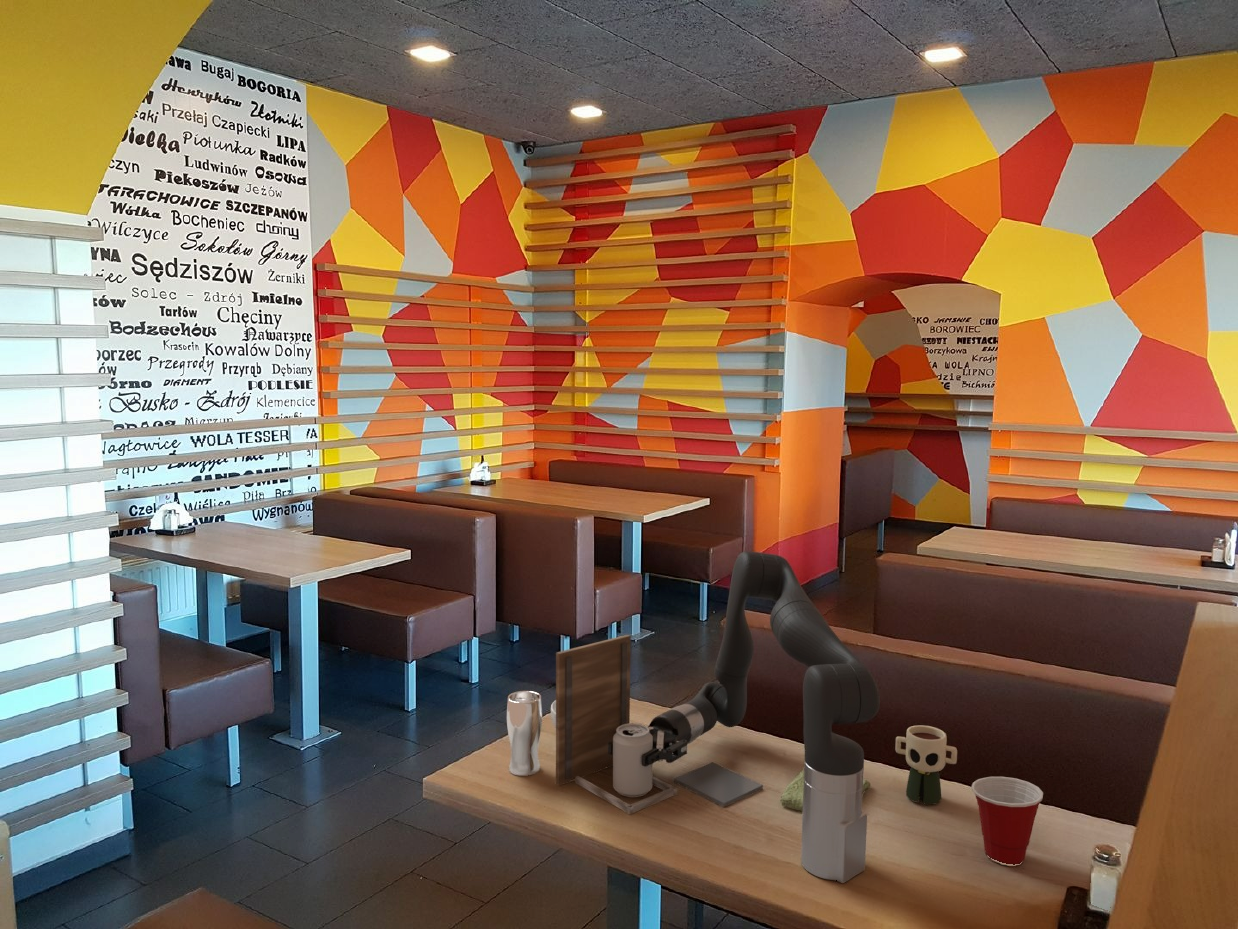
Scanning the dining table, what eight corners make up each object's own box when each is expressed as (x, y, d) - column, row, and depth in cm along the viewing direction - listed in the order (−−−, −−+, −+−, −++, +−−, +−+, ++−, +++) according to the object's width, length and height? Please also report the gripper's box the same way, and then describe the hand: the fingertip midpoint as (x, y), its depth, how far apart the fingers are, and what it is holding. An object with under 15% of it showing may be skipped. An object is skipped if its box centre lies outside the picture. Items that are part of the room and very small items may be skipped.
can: (606, 785, 169) (606, 724, 168) (641, 777, 172) (641, 718, 171) (623, 802, 162) (623, 739, 161) (659, 794, 165) (659, 732, 164)
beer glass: (544, 762, 180) (545, 691, 178) (538, 778, 173) (538, 704, 171) (511, 761, 180) (510, 689, 179) (503, 776, 174) (503, 702, 172)
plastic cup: (979, 833, 154) (983, 766, 153) (1046, 855, 147) (1051, 785, 146) (958, 859, 146) (962, 789, 144) (1028, 883, 139) (1033, 810, 138)
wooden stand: (688, 789, 169) (691, 657, 166) (617, 820, 157) (618, 678, 154) (625, 757, 182) (627, 634, 180) (555, 784, 171) (556, 652, 168)
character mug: (889, 800, 165) (892, 733, 164) (896, 785, 172) (899, 720, 170) (951, 814, 160) (955, 745, 159) (956, 798, 167) (960, 731, 165)
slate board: (762, 789, 169) (762, 785, 169) (723, 807, 162) (723, 803, 162) (712, 765, 179) (712, 762, 179) (673, 782, 172) (673, 778, 172)
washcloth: (872, 788, 171) (873, 772, 171) (844, 828, 156) (844, 811, 156) (807, 772, 178) (808, 756, 177) (774, 808, 163) (774, 791, 162)
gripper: (648, 701, 182) (596, 726, 169) (707, 718, 173) (657, 746, 160) (648, 736, 182) (596, 764, 170) (706, 755, 173) (656, 786, 161)
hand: (626, 755), depth 165 cm, fingers closed on can, 7 cm apart
